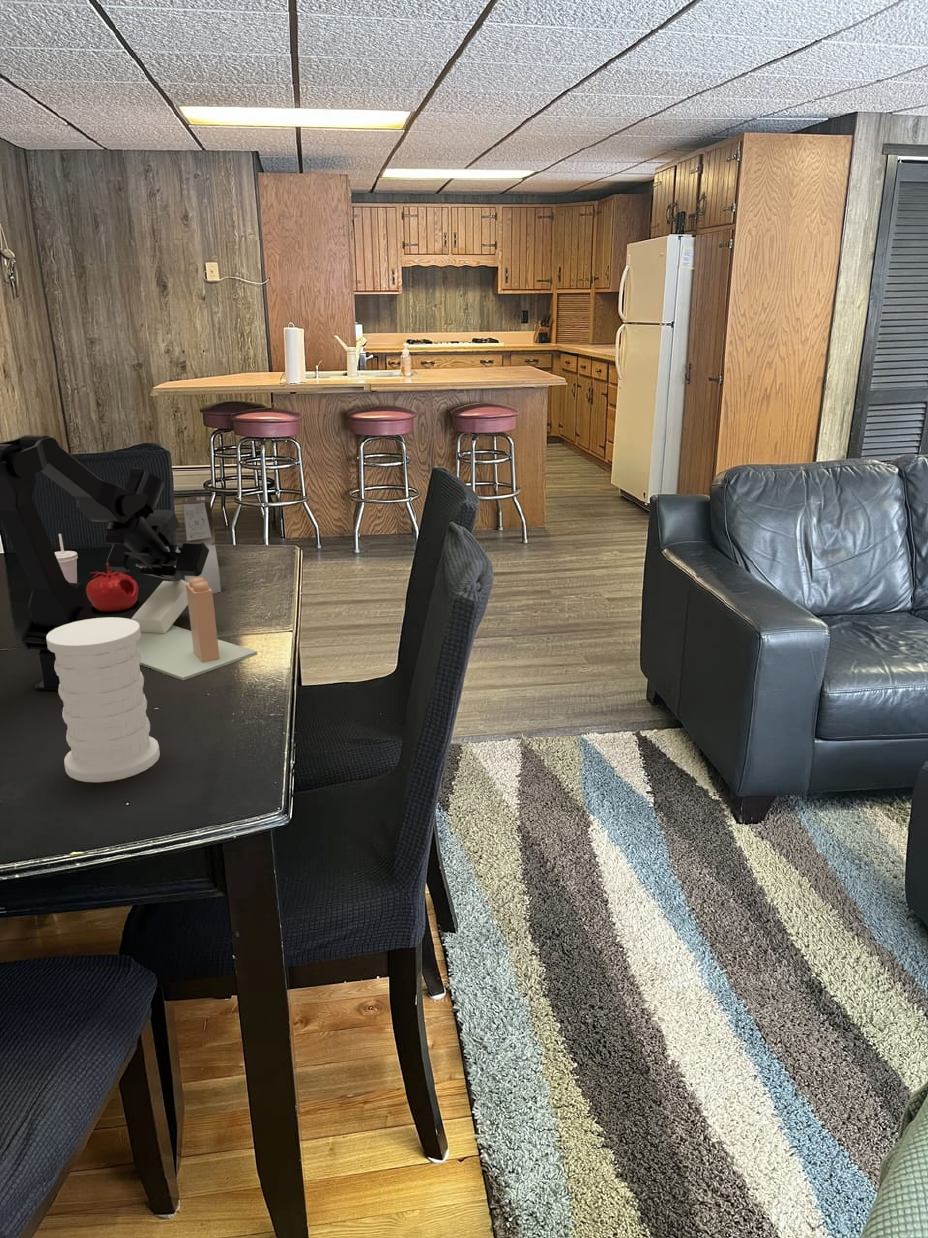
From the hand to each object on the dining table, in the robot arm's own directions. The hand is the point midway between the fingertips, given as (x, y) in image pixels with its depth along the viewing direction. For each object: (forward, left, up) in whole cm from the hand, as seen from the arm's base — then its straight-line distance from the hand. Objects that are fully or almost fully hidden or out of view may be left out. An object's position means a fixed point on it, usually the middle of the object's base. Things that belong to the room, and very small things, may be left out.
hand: (179, 578), depth 171 cm
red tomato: (+5, +17, -8) cm, 19 cm away
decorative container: (-60, -16, -8) cm, 62 cm away
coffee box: (+39, +12, -8) cm, 42 cm away
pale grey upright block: (+17, +3, -8) cm, 19 cm away
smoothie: (+10, +30, -8) cm, 33 cm away
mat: (-18, -5, -8) cm, 20 cm away
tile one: (-11, +2, -6) cm, 13 cm away
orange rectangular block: (-22, -14, -7) cm, 27 cm away
